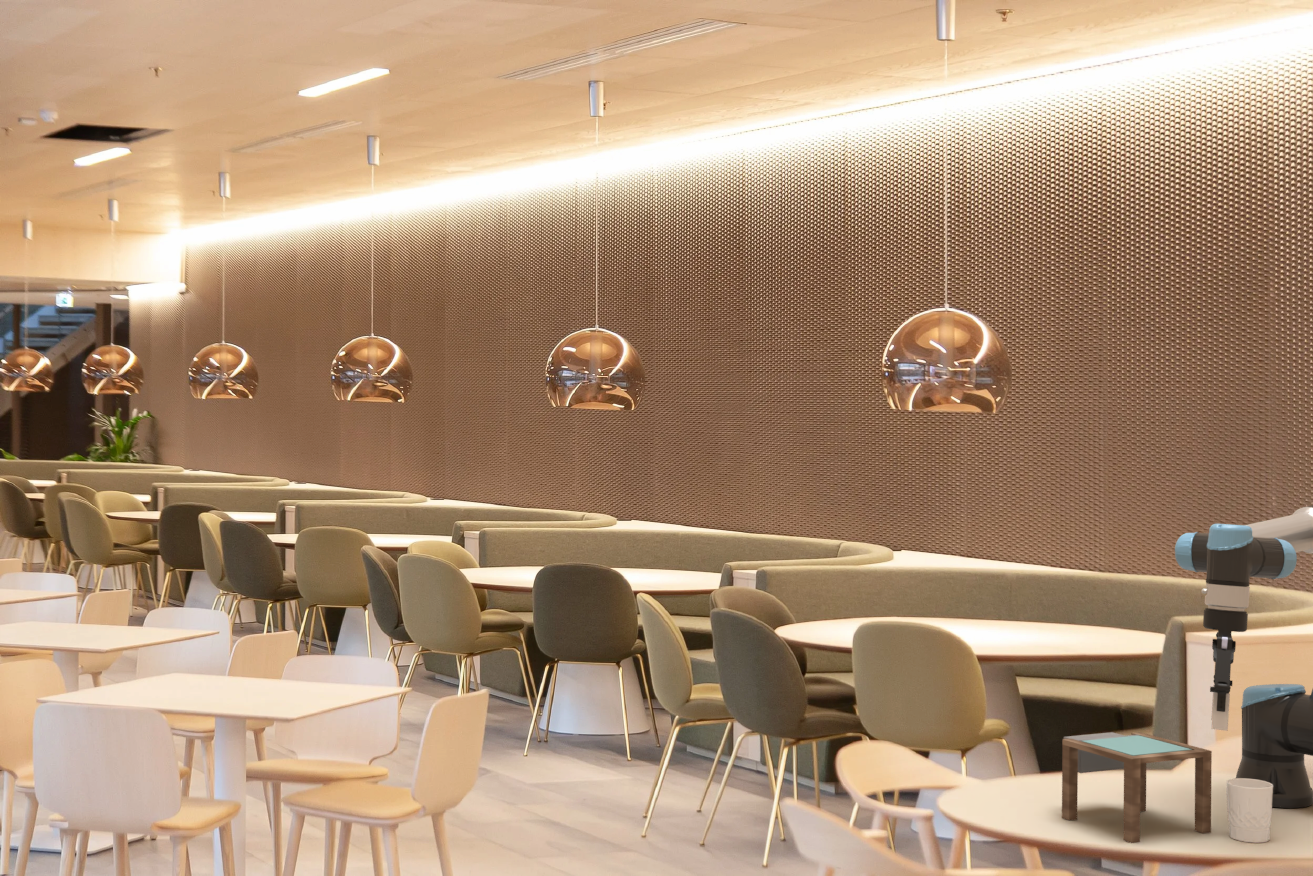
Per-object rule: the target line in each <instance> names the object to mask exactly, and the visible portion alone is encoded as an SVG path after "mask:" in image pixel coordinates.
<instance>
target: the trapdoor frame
mask: <svg viewBox="0 0 1313 876" xmlns="http://www.w3.org/2000/svg"><path fill="white" fill-rule="evenodd" d="M1130 735H1139V736H1143V737H1147V738H1151V739H1155V740H1158V741H1162V742H1166V743H1170V744H1174V745H1177V746H1181V747H1185V748H1189V749H1192V750H1186V751H1176V752H1167V753H1157V754H1147V755H1137V756H1131V755H1128V754H1124V753H1121V752H1117V751H1113V750H1110V749H1106V748H1103V747H1099V746H1096V745H1092V744H1089V743H1085V742H1082V741H1078V740H1075V739H1064V738H1062V741H1061V742H1062V744H1061V745H1062V747H1061V748H1062V750H1061V751H1062V755H1061V757H1062V758H1061V759H1062V764H1061V767H1062V769H1061V771H1062V773H1061V775H1062V777H1061V781H1062V782H1061V783H1062V784H1061V818H1062V819H1064V820H1067V821H1075V820H1078V782H1079V781H1078V778H1079V777H1078V776H1079V775H1078V774H1079V773H1078V749H1080V750H1083V751H1087V752H1090V753H1093V754H1097V755H1100V756H1104V757H1107V758H1111V759H1114V760H1118V761H1121V762H1124V769H1123V841H1124V840H1126V842H1127V841H1128V843H1130V842H1131V844H1132V843H1133V844H1134V843H1140V842H1141V813H1142V812H1146V811H1147V764H1151V763H1157V762H1158V763H1160V762H1168V761H1169V762H1170V761H1178V760H1179V761H1181V760H1190V759H1194V832H1197V833H1200V834H1208V833H1212V761H1213V760H1212V752H1213V750H1210V749H1206V748H1202V747H1198V746H1195V745H1192V744H1191V745H1190V744H1187V743H1182V742H1179V741H1175V740H1171V739H1167V738H1164V737H1160V736H1156V735H1152V734H1148V733H1146V732H1145V733H1144V732H1140V731H1135V732H1131V734H1130Z"/></svg>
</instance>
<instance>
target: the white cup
mask: <svg viewBox="0 0 1313 876" xmlns="http://www.w3.org/2000/svg"><path fill="white" fill-rule="evenodd" d="M1225 785H1226V803H1227V804H1226V805H1227V807H1226V808H1227V820H1228V836H1229V837H1230V838H1231V839H1234V840H1235V841H1239V842H1245V843H1251V844H1252V843H1256V844H1260V843H1266V842H1267V843H1268V841H1270V835H1271V827H1270V826H1271V824H1272V811H1273V807H1272V797H1273V784H1271V783H1269V782H1266V781H1262V780H1257V779H1247V778H1236V777H1235V778H1230V779H1229V778H1228V779H1227V780H1226V784H1225Z"/></svg>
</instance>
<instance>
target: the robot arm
mask: <svg viewBox="0 0 1313 876" xmlns="http://www.w3.org/2000/svg"><path fill="white" fill-rule="evenodd" d="M1208 529H1209V531H1208V532H1203V533H1202V532H1199V531H1195V532H1186V533H1184V534H1182V535H1180V536H1179V537H1178V539H1177V540H1176V542H1175V546H1174V558H1175V561H1176V563H1177V564H1178V566H1179V567H1180V569H1183V570H1185V571H1190V572H1191V571H1192V572H1195V573H1206V576H1205V577H1206V578H1205V588H1204V587H1203V588H1202V589H1201V594H1206V595H1205V596H1204V604H1205V605H1206V606H1207V607H1205V608H1204V609H1203V619H1202V620H1203V622H1202V623H1203V624H1202V625H1203V628H1205V629H1207V630H1211V631H1213V630H1214V631H1217V632H1216V634H1215V637H1216V638H1212V643H1211V644H1212V645H1211V648H1212V650H1213V651H1212V652H1213V653H1212V659H1213V662H1214V664H1215V665H1214V675H1213V683H1214V684H1213V686H1209V692H1211V693H1212V703H1211V704H1212V706H1211V730H1216V731H1217V730H1218V731H1226V732H1227V731H1228V729H1229V715H1230V714H1229V712H1230V696H1231V695H1230V692H1231V687H1233V680H1231V671H1232V670H1231V667H1232V664H1233V663H1234V657H1235V655H1234V654H1235V652H1236V646H1237V645H1236V644H1237V642H1236V640H1233V636H1232V632H1233V633H1237V632H1238V633H1244V632H1247V629H1248V617H1249V613H1247V611H1245V610H1246V609H1248V608H1249V605H1250V589H1251V588H1250V580H1251V578H1259V579H1268V580H1269V579H1270V580H1276V579H1284V578H1287V577H1289V576H1290V575H1291V574H1292V573H1293V572H1294V571H1295V568H1296V566H1297V561H1298V559H1297V558H1298V557H1297V553H1299V552H1300V553H1301V552H1304V553H1306V554H1313V504H1312V505H1309V506H1303V507H1300V508H1298V509H1296V510H1295V511H1294V512H1293V513H1292V514H1291V515H1285V516H1281V517H1276V518H1272V519H1268V520H1264V521H1258V522H1253V523H1249V524H1243V525H1242V524H1229V523H1228V524H1227V523H1226V524H1225V523H1213V524H1212V525H1211V526H1209V528H1208ZM1306 692H1307V691H1306V688H1305V686H1304V685H1302V684H1299V683H1297V684H1296V683H1272V684H1271V683H1270V684H1259V685H1258V684H1257V685H1251V686H1247V687H1246V688H1245V689H1243V692H1242V702H1241V707H1240V709H1241V759H1240V763H1239V766H1238V769H1237V772H1236V776H1235V778H1247V779H1257V780H1262V781H1266V782H1269V783H1271V784H1273V797H1272V808H1279V809H1280V808H1282V809H1284V808H1285V809H1286V808H1287V809H1288V808H1289V809H1294V808H1295V809H1299V808H1306V807H1309V806H1312V805H1313V788H1312V787H1311V784H1310V780H1309V776H1308V772H1307V768H1306V765H1305V764H1306V763H1305V755H1306V756H1311V757H1313V688H1312V690H1311V693H1310V694H1306Z"/></svg>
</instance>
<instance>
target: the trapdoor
mask: <svg viewBox="0 0 1313 876" xmlns="http://www.w3.org/2000/svg"><path fill="white" fill-rule="evenodd" d="M1063 739H1075V740H1078V741H1082V742H1085V743H1089V744H1092V745H1096V746H1099V747H1103V748H1106V749H1110V750H1113V751H1117V752H1121V753H1124V754H1128V755H1131V756H1137V755H1147V754H1157V753H1167V752H1176V751H1186V750H1192V749H1189V748H1185V747H1181V746H1177V745H1174V744H1170V743H1166V742H1162V741H1158V740H1155V739H1151V738H1147V737H1143V736H1139V735H1131V734H1130V735H1129V734H1128V735H1124V734H1120V733H1116V732H1113V731H1111V732H1102V733H1101V732H1100V733H1091V734H1081V735H1080V734H1079V735H1071V736H1070V735H1069V736H1063ZM1121 769H1123V770H1124V762H1121V761H1118V760H1114V759H1111V758H1107V757H1104V756H1100V755H1097V754H1093V753H1090V752H1087V751H1083V750H1080V749H1078V774H1079V773H1080V774H1084V773H1085V774H1086V773H1095V772H1103V771H1113V770H1121Z"/></svg>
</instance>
